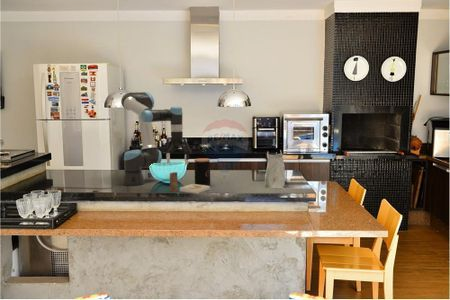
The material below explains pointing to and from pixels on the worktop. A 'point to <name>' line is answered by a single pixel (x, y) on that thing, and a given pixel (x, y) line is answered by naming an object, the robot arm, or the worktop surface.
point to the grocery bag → (275, 171)
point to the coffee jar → (202, 171)
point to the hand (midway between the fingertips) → (177, 163)
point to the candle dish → (194, 188)
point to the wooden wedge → (173, 182)
